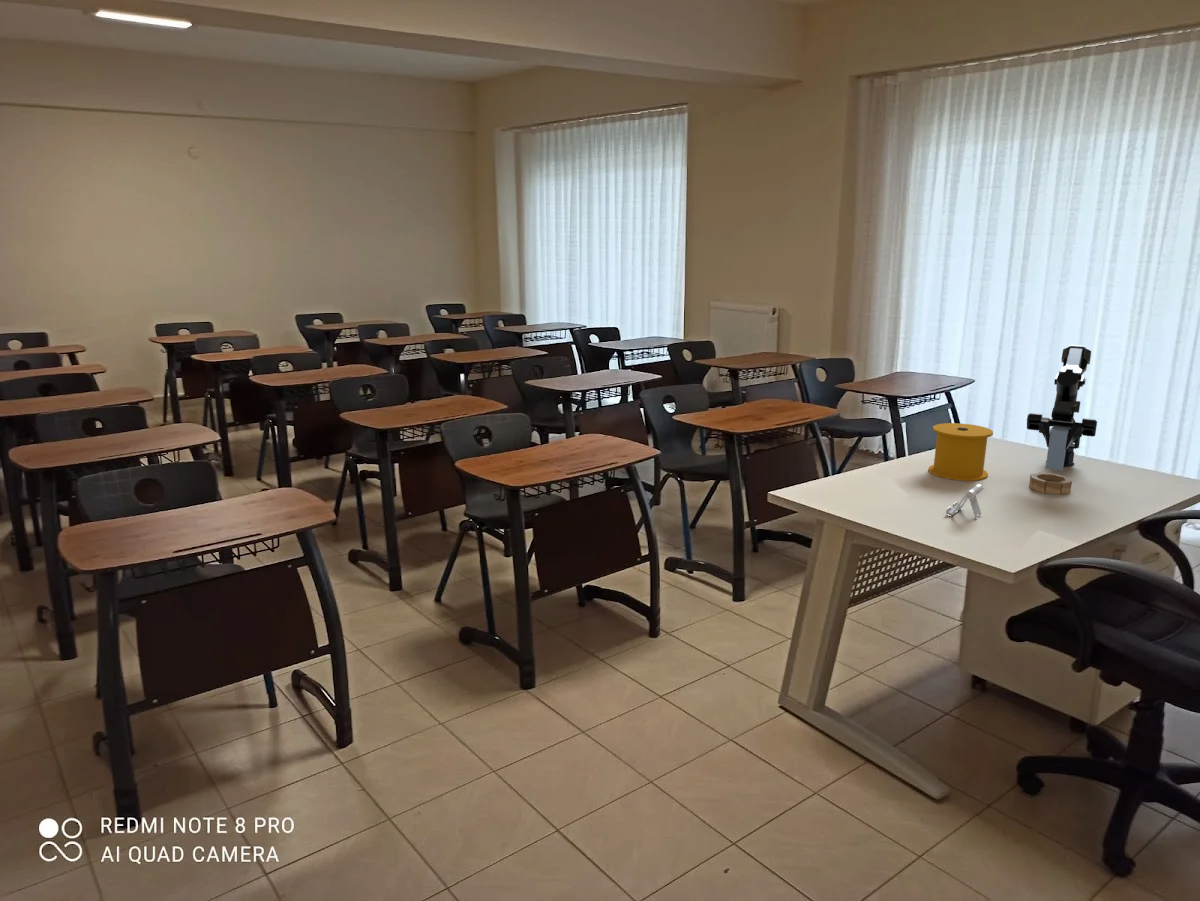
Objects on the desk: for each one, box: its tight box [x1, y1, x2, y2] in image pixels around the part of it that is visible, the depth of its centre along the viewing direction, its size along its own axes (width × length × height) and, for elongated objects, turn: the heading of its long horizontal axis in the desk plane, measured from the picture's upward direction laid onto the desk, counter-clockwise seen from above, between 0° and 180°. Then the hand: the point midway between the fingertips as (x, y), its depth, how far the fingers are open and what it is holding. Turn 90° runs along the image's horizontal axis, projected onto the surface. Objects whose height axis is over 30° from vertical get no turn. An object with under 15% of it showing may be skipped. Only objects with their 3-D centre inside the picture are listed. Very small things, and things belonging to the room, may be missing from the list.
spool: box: [928, 422, 994, 482], centre depth 274 cm, size 18×18×15 cm
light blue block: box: [1045, 427, 1069, 471], centre depth 256 cm, size 4×4×12 cm
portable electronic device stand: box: [945, 483, 984, 519], centre depth 235 cm, size 9×8×8 cm
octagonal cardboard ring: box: [1028, 472, 1073, 496], centre depth 259 cm, size 11×11×4 cm
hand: (1056, 447), depth 255 cm, fingers closed on light blue block, 4 cm apart
